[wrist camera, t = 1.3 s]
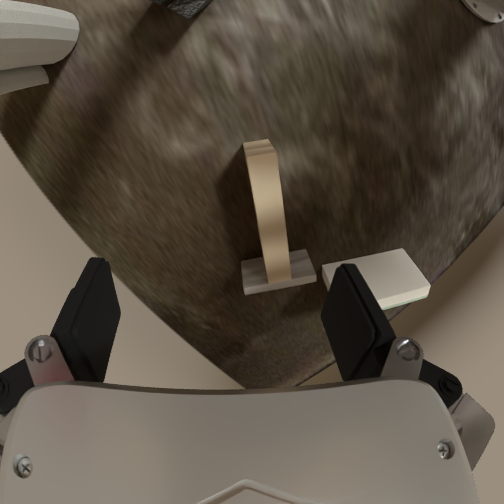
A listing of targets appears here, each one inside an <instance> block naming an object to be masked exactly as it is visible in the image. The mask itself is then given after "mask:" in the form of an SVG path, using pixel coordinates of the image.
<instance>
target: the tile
mask: <svg viewBox="0 0 504 504" xmlns="http://www.w3.org/2000/svg"><path fill="white" fill-rule="evenodd" d="M342 263H354V264H355V265H356V266H357V268H358V269H359V271H360V273H361V274H362V276H363V278H364V279H365V281H366V283H367V284H368V286H369V288H370V290H371V291H372V293H373V295H374V297H375V298H376V300H377V302H378V304H379V305H380V307H381V309H382V310H384V309H388V308H392V307H395V306H399V305H402V304H406V303H409V302H413V301H416V300H419V299H422V298H425V297H427V296H428V292H429V289H430V286H431V285H430V284H429V282H428V281H427V280H426V278H425V277H424V276H423V274H422V273H421V272H420V270H419V269H418V268H417V266H416V265H415V264H414V262H413V261H412V260H411V259H410V257H409V256H408V255H407V253H406V252H405V251H404V250H403V248H402V249H397V250H392V251H388V252H383V253H378V254H374V255H369V256H364V257H359V258H354V259H350V260H345V261H340V262H335V263H330V264H325V265H322V278H323V280H324V282H325V285H326V287H327V290H328V292H329V289H330V286H331V283H332V279H333V276H334V273H335V270H336V268H337V267H340V265H341V264H342Z"/></svg>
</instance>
